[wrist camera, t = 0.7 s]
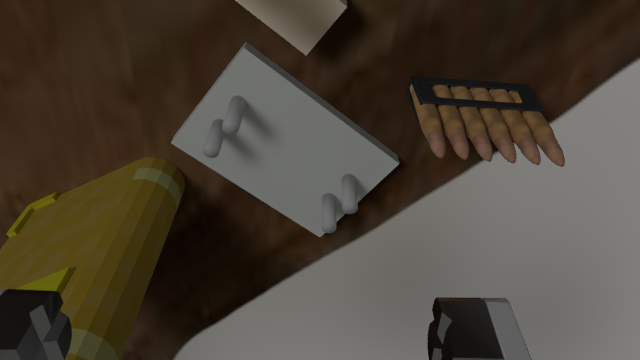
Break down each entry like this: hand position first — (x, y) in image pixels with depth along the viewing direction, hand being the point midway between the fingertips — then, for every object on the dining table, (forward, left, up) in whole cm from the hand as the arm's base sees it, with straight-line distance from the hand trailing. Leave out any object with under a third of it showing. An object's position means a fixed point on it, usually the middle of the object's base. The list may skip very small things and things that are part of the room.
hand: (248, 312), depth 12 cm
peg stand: (+15, +10, -37) cm, 41 cm away
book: (+32, 0, -37) cm, 49 cm away
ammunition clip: (0, +19, -37) cm, 41 cm away
